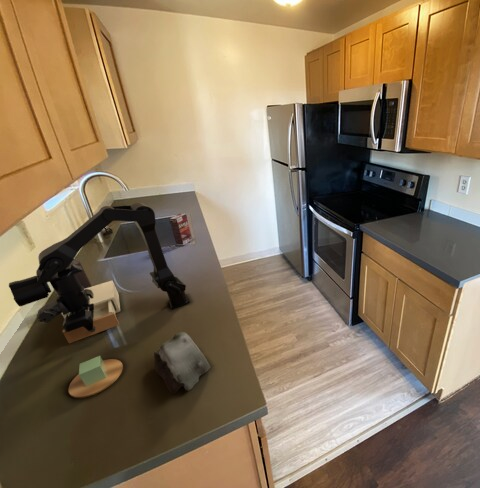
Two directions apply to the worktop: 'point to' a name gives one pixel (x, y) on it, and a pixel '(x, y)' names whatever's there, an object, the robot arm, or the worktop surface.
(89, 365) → the block
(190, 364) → the rock
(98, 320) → the drawer
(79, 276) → the bottle
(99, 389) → the trivet
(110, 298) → the cabinet
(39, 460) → the worktop surface
